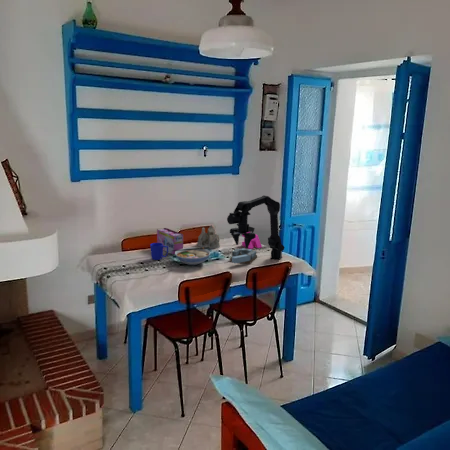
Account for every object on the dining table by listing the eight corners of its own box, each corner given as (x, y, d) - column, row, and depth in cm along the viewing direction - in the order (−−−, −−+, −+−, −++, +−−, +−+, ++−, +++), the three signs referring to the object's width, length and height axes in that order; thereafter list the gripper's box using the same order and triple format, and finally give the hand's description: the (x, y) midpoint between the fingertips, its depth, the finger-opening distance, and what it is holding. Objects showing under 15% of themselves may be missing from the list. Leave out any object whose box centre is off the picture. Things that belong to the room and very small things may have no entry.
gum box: (155, 247, 325) (155, 228, 322) (165, 245, 330) (164, 227, 327) (174, 255, 307) (173, 235, 304) (183, 252, 312) (183, 234, 309)
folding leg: (249, 258, 293) (249, 253, 292) (251, 260, 291) (252, 254, 290) (231, 262, 286) (231, 256, 285) (234, 263, 284) (234, 257, 283)
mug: (166, 261, 293) (166, 246, 290) (148, 260, 295) (148, 245, 293) (170, 257, 301) (170, 243, 298) (153, 256, 303) (152, 242, 301)
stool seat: (257, 258, 302) (257, 250, 301) (249, 264, 290) (250, 255, 289) (237, 255, 308) (237, 247, 306) (229, 261, 295) (230, 253, 294)
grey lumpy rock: (196, 242, 336) (197, 223, 332) (217, 242, 339) (218, 223, 335) (198, 250, 321) (199, 230, 317) (221, 250, 325) (222, 230, 320)
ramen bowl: (176, 270, 276) (176, 258, 274) (170, 259, 297) (170, 247, 295) (215, 267, 282) (215, 255, 280) (207, 256, 304) (207, 245, 302)
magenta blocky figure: (241, 245, 333) (242, 231, 330) (254, 243, 337) (254, 230, 334) (249, 249, 322) (249, 235, 320) (261, 247, 326) (262, 234, 324)
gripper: (262, 223, 276) (261, 248, 280) (242, 218, 290) (242, 241, 294) (249, 225, 270) (248, 250, 273) (229, 220, 284) (228, 243, 287)
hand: (242, 246), depth 282 cm, fingers open, 9 cm apart
